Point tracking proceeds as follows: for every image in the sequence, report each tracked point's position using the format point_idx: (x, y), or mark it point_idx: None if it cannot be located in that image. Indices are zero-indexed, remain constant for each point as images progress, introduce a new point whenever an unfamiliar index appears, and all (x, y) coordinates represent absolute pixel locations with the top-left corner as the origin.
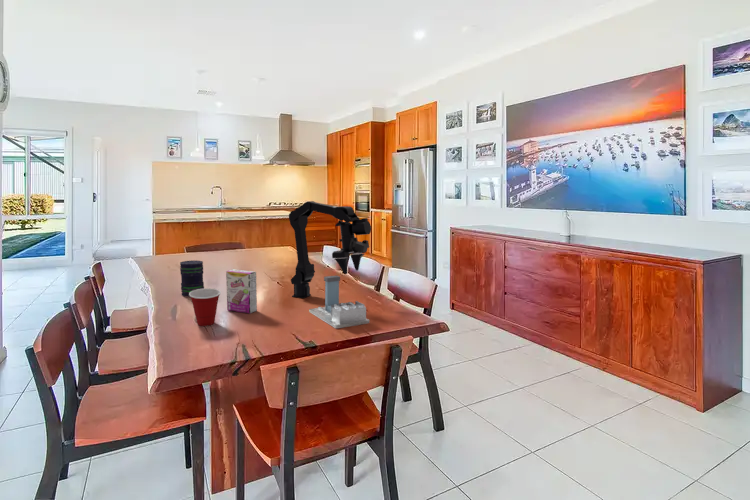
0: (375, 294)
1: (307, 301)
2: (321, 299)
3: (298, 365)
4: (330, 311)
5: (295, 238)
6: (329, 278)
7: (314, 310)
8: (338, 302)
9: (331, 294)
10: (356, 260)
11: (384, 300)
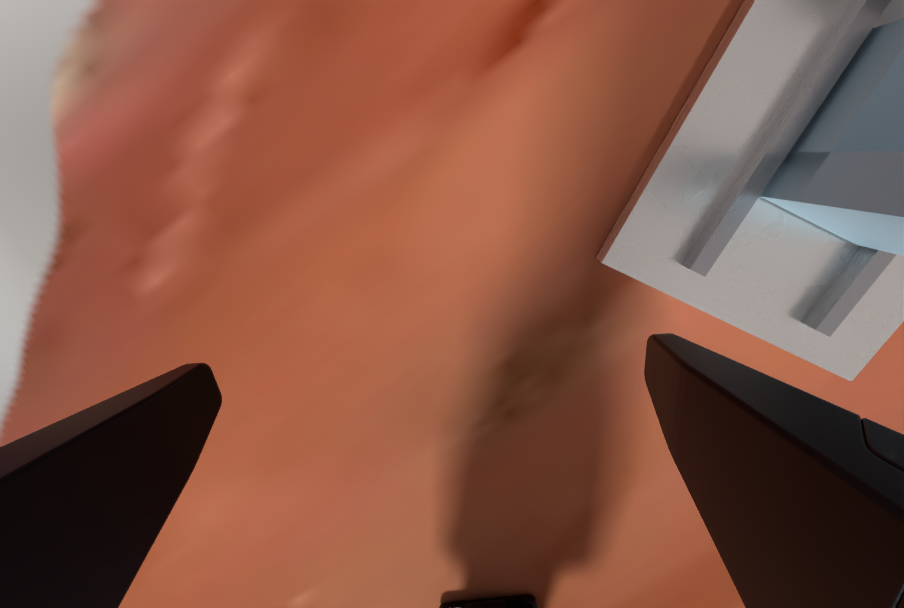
0: (64, 269)
1: (581, 537)
2: (478, 498)
3: None
4: None
5: None
6: None
7: (873, 325)
8: (848, 152)
9: None
10: (3, 581)
11: (147, 77)
